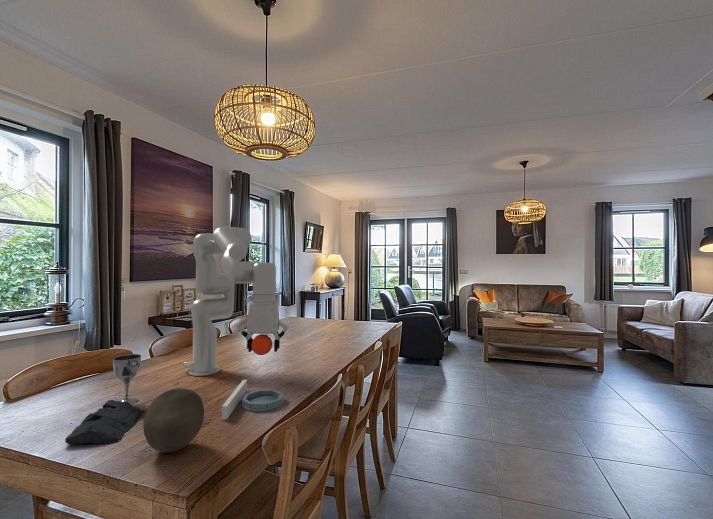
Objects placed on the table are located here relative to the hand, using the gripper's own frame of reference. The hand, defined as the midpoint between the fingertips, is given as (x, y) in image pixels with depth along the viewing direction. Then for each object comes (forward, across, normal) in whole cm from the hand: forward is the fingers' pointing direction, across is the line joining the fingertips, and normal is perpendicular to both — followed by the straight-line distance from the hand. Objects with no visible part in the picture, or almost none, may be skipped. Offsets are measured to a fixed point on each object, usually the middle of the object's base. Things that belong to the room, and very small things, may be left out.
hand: (263, 350), depth 118 cm
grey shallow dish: (+18, 0, 0) cm, 18 cm away
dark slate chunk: (+18, -41, -16) cm, 48 cm away
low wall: (+18, -9, 0) cm, 20 cm away
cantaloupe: (+18, -16, -29) cm, 38 cm away
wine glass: (+18, -46, +3) cm, 49 cm away
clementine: (+2, 0, 0) cm, 2 cm away
